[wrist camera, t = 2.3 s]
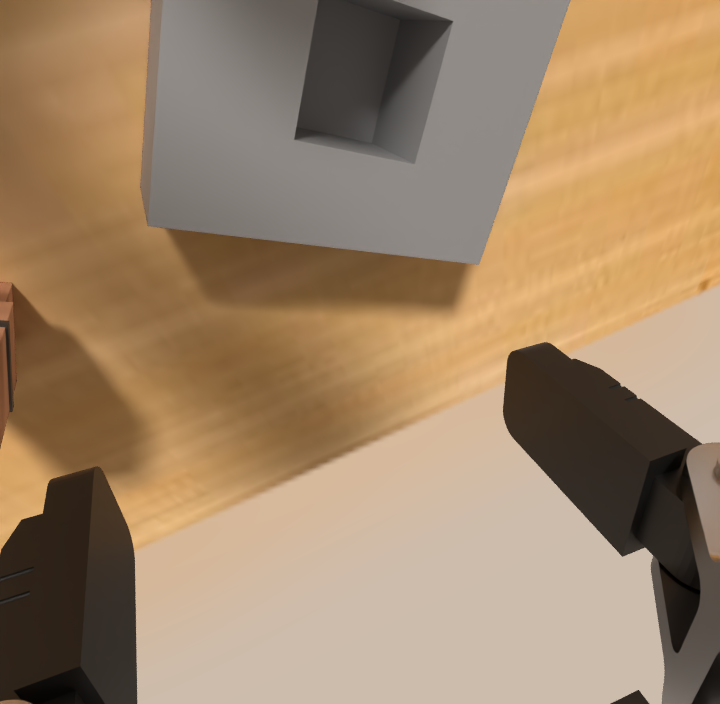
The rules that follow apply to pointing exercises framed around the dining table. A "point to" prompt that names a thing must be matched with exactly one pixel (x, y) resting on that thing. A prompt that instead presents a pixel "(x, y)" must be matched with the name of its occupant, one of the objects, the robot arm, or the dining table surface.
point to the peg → (6, 355)
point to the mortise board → (341, 118)
